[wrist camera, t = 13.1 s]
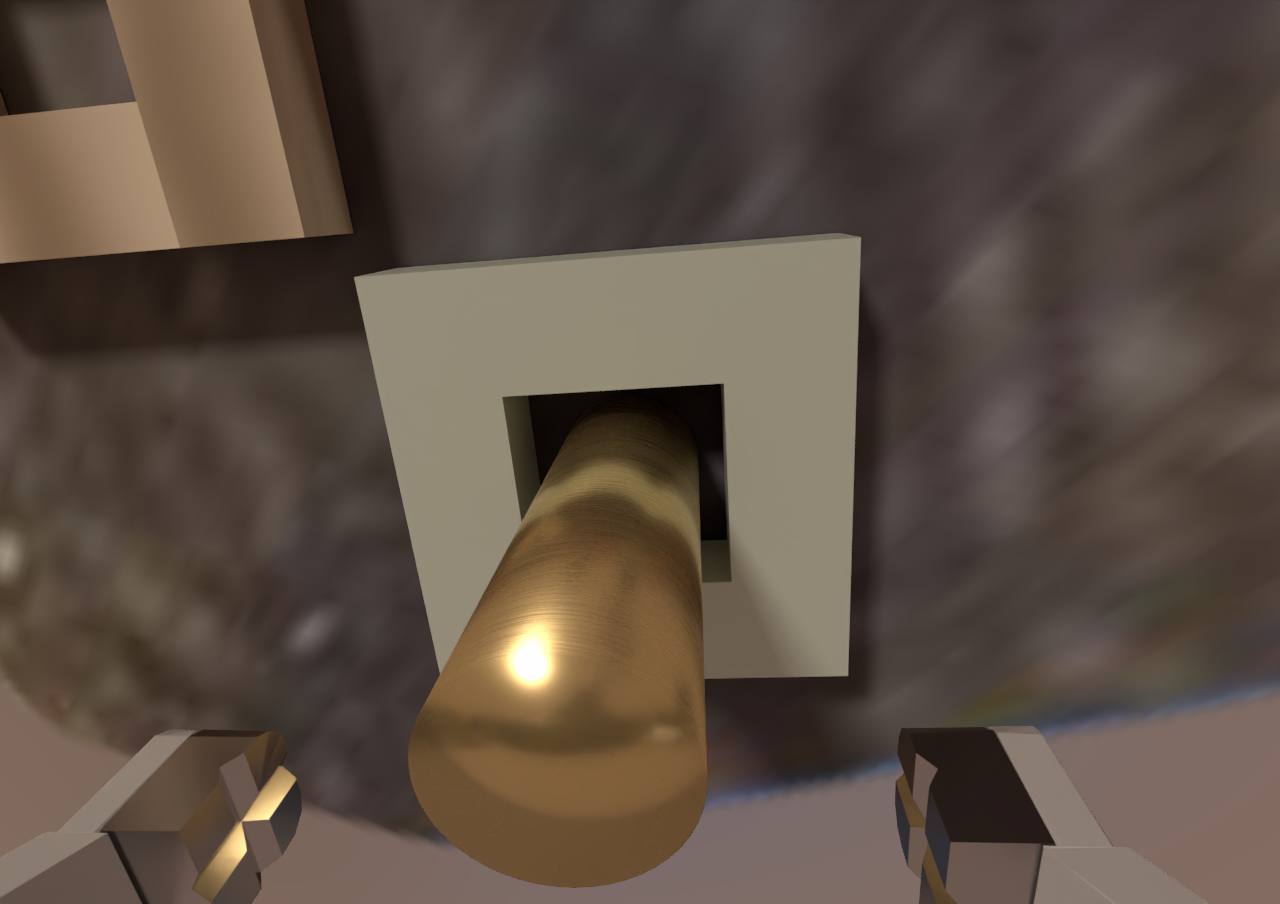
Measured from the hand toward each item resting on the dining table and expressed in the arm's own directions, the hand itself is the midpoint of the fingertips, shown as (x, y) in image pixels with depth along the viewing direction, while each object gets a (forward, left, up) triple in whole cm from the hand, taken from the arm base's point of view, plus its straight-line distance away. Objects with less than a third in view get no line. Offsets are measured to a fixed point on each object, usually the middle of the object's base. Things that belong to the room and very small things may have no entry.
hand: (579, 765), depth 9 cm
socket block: (0, 0, -12) cm, 12 cm away
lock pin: (0, 0, -12) cm, 12 cm away
